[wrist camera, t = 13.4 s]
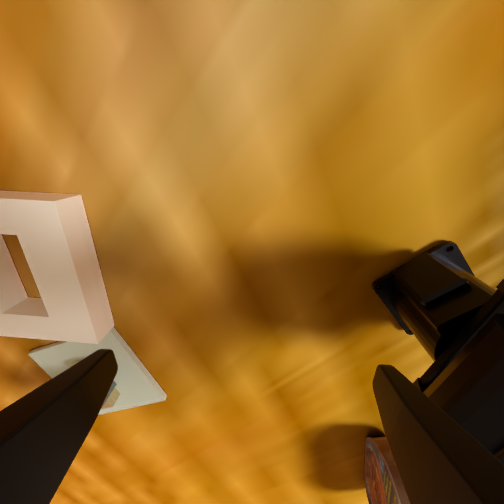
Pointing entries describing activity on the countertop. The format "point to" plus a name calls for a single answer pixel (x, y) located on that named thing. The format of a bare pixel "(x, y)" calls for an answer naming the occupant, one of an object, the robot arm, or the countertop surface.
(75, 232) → the cover plate
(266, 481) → the countertop surface
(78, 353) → the key mat
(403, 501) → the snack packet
